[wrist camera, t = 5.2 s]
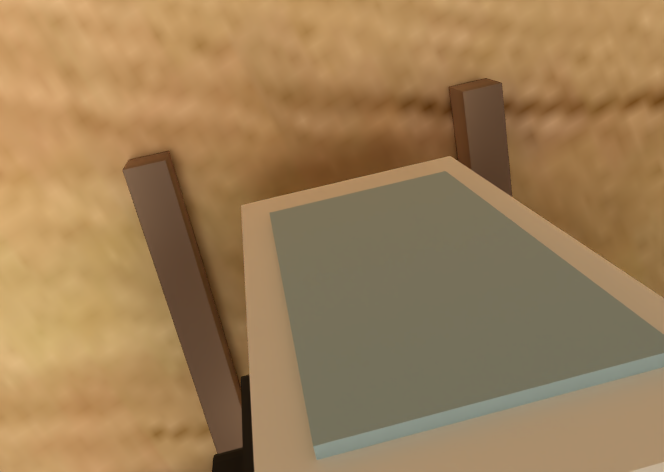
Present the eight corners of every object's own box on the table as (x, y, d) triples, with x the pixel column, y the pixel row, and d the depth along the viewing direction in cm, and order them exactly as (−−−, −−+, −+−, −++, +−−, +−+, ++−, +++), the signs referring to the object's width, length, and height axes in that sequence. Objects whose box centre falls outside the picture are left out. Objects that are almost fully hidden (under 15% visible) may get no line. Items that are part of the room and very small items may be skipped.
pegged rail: (486, 78, 16) (563, 100, 12) (520, 422, 20) (586, 516, 17) (-597, 326, 14) (-892, 441, 10) (-312, 652, 18) (-448, 817, 14)
